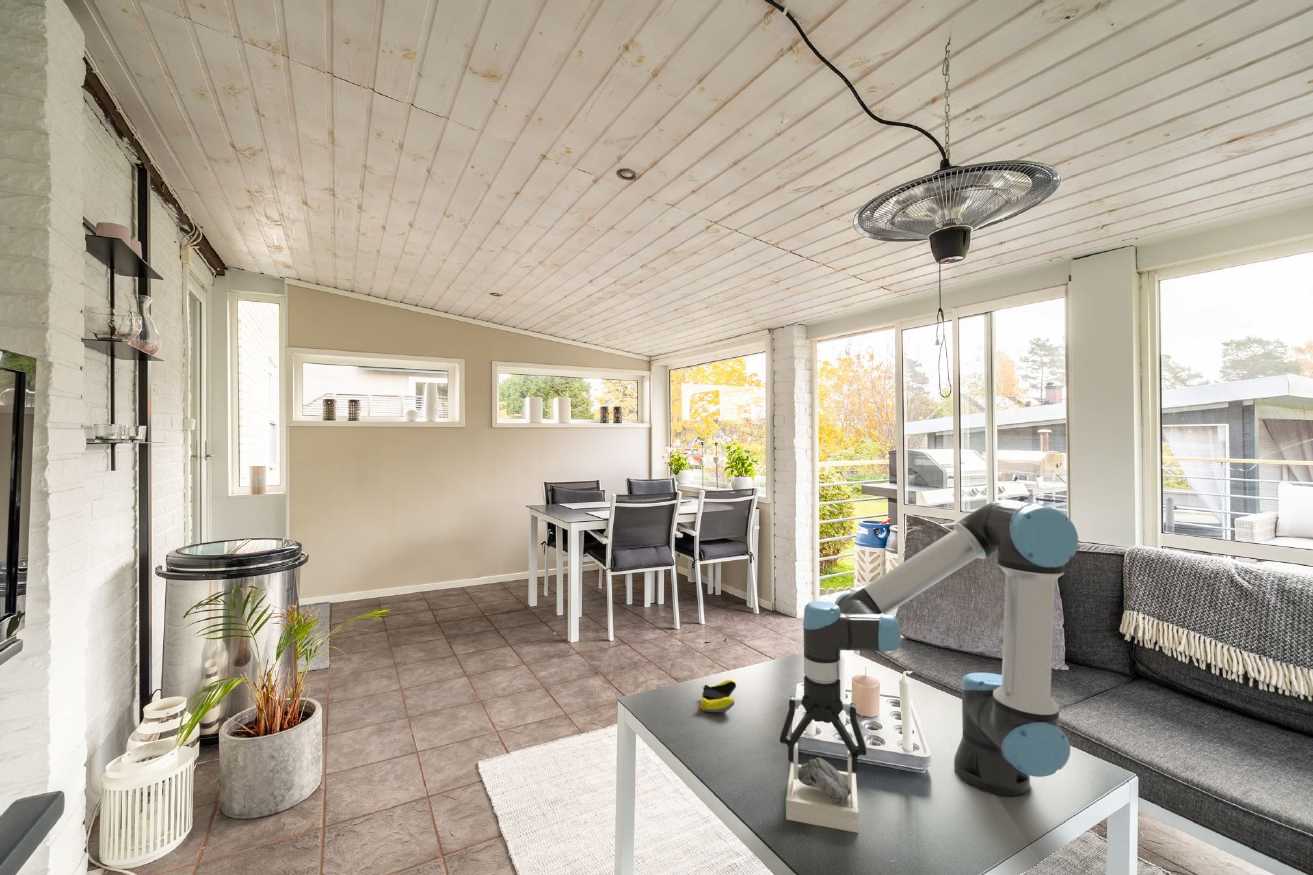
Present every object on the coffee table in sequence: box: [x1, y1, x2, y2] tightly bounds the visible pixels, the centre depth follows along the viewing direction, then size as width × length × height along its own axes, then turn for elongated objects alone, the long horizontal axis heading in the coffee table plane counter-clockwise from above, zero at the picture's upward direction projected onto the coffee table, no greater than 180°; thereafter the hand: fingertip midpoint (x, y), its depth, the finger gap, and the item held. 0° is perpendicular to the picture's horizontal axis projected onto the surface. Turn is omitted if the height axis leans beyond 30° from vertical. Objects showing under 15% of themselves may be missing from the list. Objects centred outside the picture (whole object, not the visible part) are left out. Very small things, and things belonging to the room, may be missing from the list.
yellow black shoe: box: [699, 679, 737, 713], centre depth 169 cm, size 15×6×10 cm
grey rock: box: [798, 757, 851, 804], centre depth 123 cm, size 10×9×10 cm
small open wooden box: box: [785, 762, 859, 834], centre depth 124 cm, size 14×14×4 cm
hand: (822, 780), depth 124 cm, fingers closed on grey rock, 10 cm apart
